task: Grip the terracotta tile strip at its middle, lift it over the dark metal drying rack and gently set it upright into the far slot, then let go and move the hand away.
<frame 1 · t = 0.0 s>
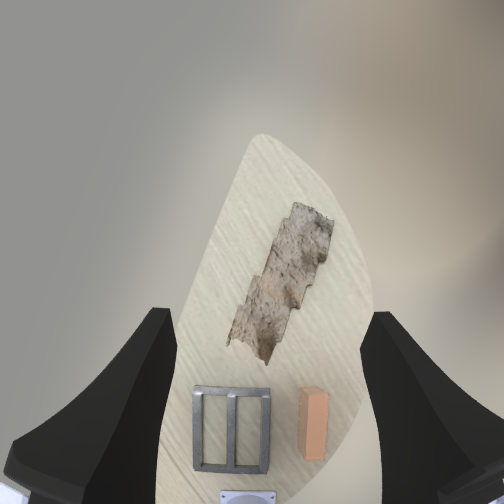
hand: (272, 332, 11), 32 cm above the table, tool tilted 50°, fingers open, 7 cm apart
drying rack: (231, 431, 38), on the table
stone fragment: (281, 284, 45), on the table
terracotta strip: (307, 417, 39), on the table
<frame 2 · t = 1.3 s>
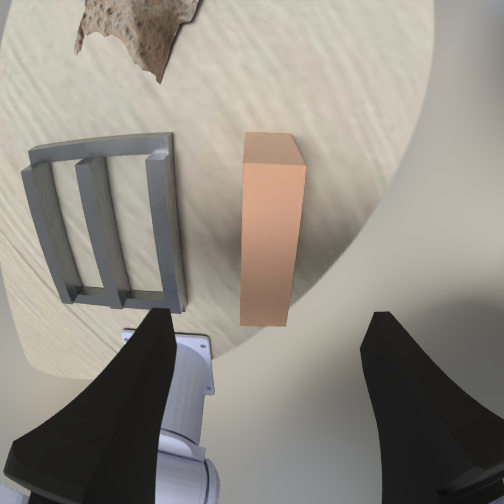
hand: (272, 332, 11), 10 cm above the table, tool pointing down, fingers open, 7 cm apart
drying rack: (110, 228, 20), on the table
terracotta strip: (264, 203, 20), on the table
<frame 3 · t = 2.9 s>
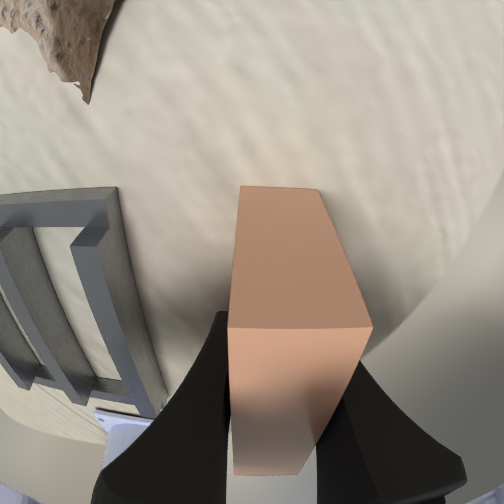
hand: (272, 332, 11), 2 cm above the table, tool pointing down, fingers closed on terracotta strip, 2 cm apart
drying rack: (56, 312, 14), on the table
terracotta strip: (270, 294, 13), on the table, touching gripper
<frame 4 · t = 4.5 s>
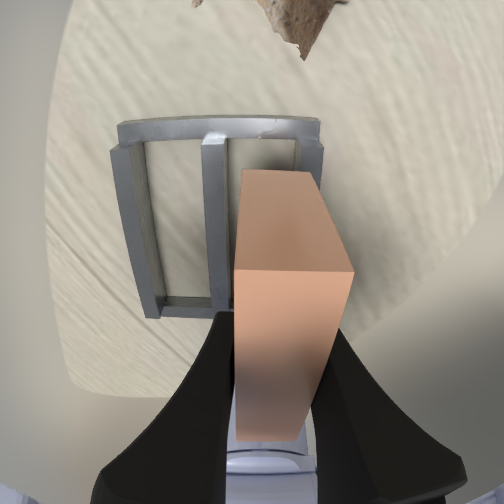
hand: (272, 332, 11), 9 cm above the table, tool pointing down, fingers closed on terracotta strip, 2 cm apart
drying rack: (220, 227, 18), on the table
terracotta strip: (269, 269, 14), point 5 cm above the table, touching gripper
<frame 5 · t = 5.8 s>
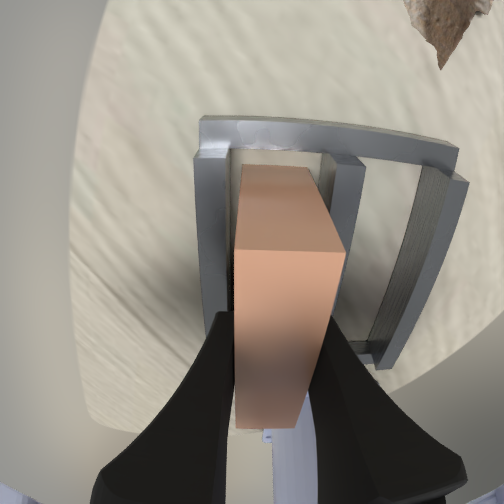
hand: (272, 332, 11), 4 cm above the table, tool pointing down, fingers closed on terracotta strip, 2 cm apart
drying rack: (317, 265, 14), on the table
terracotta strip: (268, 260, 14), resting in drying rack, touching gripper
when the fingers open (3 cm above the table, at t = 6.3 s): terracotta strip stays where it is, resting in drying rack.
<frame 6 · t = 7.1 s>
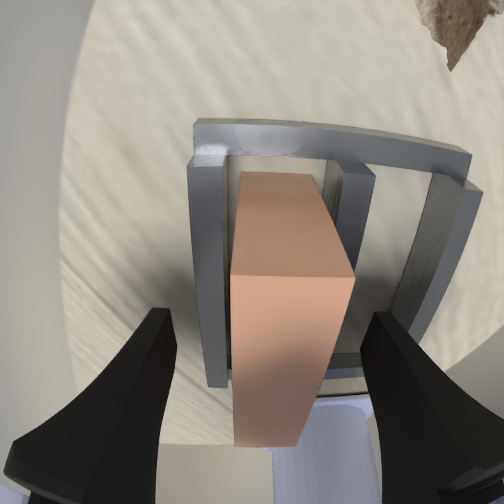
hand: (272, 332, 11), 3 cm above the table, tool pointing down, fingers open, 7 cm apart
drying rack: (321, 277, 14), on the table
terracotta strip: (269, 272, 14), resting in drying rack
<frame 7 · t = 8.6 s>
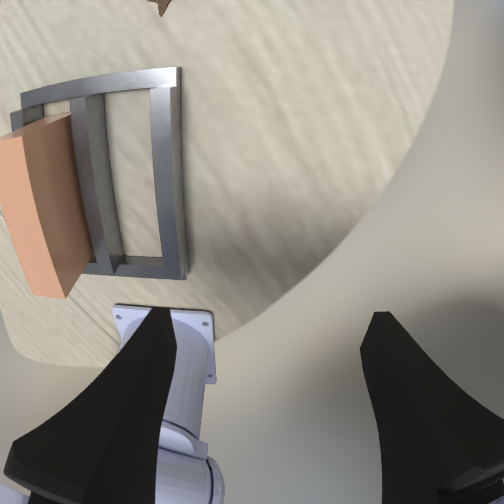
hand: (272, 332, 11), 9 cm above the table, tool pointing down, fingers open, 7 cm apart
drying rack: (104, 180, 18), on the table
terracotta strip: (75, 180, 18), resting in drying rack
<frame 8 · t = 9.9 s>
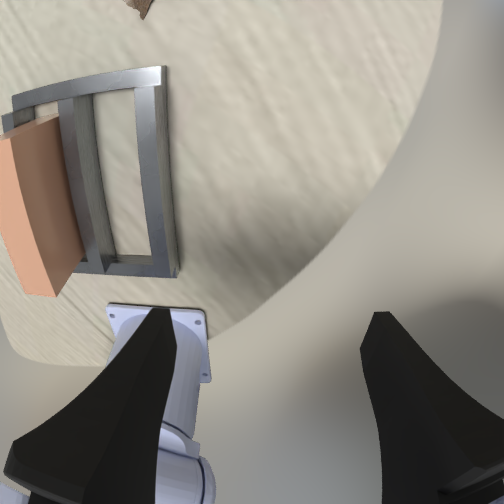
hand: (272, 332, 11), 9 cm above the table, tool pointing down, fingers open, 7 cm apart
drying rack: (94, 180, 17), on the table
terracotta strip: (66, 180, 17), resting in drying rack
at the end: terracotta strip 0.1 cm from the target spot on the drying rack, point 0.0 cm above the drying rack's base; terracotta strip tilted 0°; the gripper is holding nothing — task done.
